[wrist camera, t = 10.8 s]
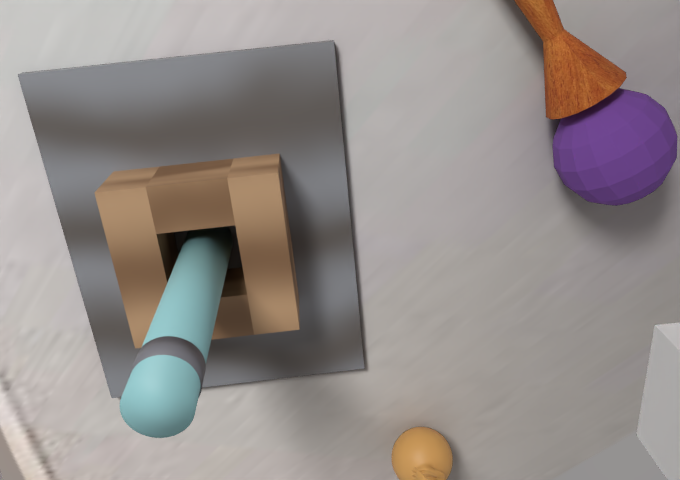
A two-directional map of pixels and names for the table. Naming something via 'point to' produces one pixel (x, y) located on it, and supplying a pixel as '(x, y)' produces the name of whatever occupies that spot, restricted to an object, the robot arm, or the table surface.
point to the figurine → (422, 455)
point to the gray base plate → (207, 201)
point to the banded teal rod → (178, 339)
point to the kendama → (599, 118)
